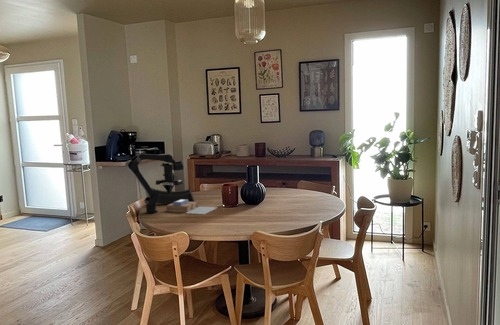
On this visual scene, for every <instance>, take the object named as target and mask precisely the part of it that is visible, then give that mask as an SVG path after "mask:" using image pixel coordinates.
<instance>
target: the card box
mask: <svg viewBox="0 0 500 325" xmlns="http://www.w3.org/2000/svg"><path fill="white" fill-rule="evenodd" d="M173 203H174V205H183V204H186V203H188V199H180V200H177V201H175V202H173Z"/></svg>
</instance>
